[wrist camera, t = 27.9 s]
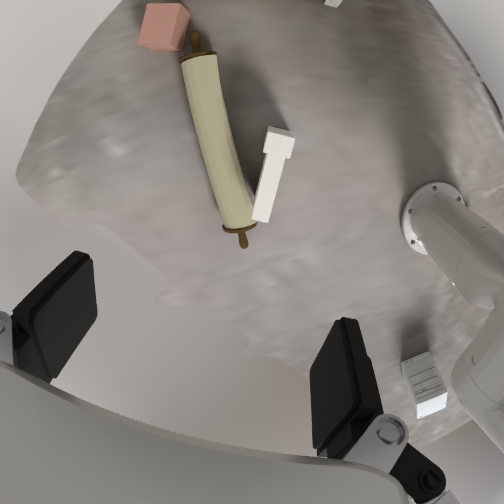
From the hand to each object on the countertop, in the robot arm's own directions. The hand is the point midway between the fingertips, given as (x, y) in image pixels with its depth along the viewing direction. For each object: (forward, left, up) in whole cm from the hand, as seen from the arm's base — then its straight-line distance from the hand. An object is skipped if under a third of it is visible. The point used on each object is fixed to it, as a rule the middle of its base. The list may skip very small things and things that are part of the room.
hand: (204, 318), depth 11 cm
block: (+15, -16, -34) cm, 41 cm away
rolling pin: (+5, -1, -35) cm, 35 cm away
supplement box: (-47, +34, -34) cm, 67 cm away
